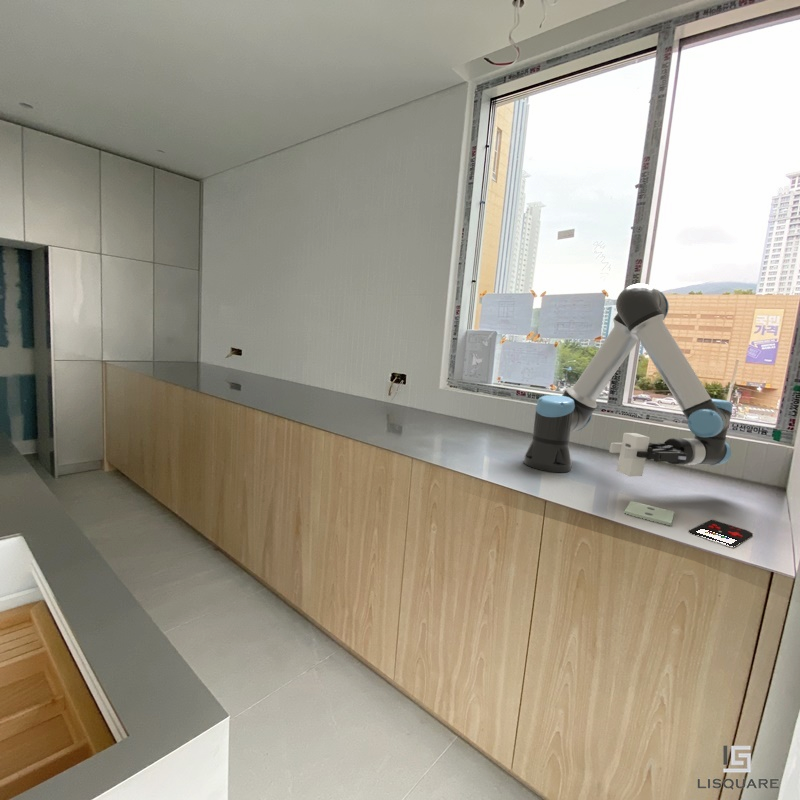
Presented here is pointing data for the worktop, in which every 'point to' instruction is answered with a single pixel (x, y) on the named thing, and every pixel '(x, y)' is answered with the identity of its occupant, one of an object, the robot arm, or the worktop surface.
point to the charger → (632, 465)
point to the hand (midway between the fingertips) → (618, 450)
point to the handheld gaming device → (723, 531)
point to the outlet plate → (650, 513)
